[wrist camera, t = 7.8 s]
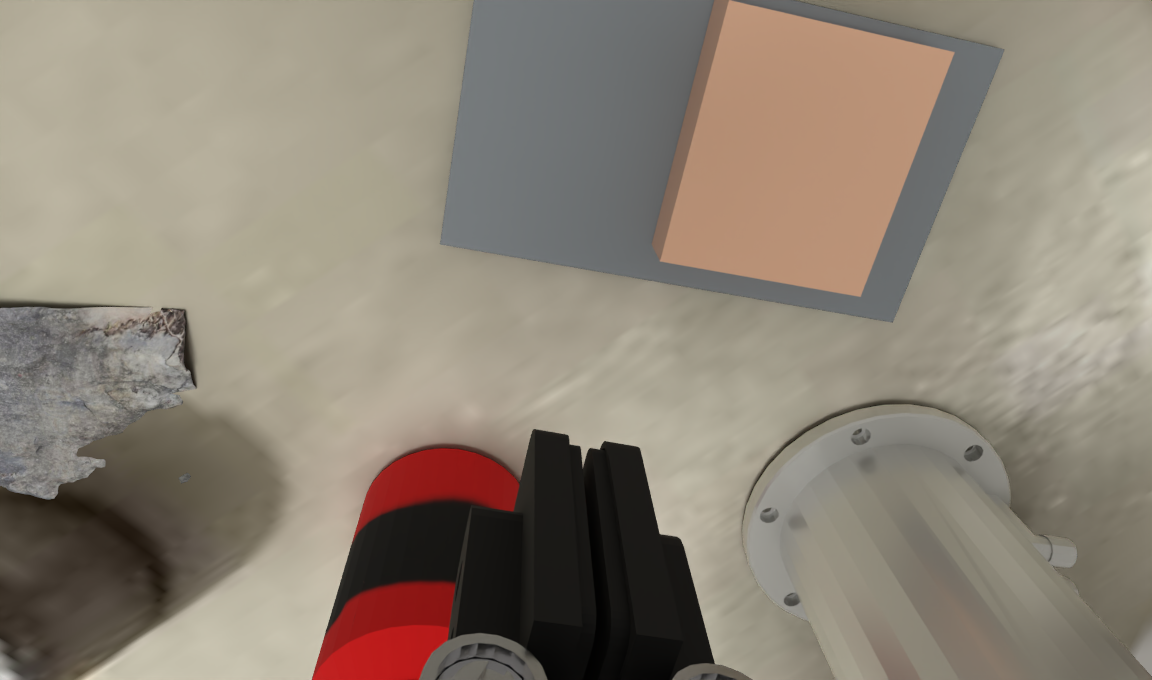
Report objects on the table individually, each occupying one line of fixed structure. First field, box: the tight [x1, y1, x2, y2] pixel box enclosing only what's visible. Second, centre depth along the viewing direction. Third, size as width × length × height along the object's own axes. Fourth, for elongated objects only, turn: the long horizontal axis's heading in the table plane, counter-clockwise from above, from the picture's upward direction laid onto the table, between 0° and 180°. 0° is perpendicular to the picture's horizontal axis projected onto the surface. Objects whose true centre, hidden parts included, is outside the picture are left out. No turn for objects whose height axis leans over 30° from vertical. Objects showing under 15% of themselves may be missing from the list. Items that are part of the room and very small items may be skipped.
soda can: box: [312, 448, 519, 680], centre depth 30 cm, size 8×8×12 cm
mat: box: [440, 0, 1004, 322], centre depth 29 cm, size 19×11×1 cm, turn 78°
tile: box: [652, 0, 955, 297], centre depth 28 cm, size 2×9×8 cm
